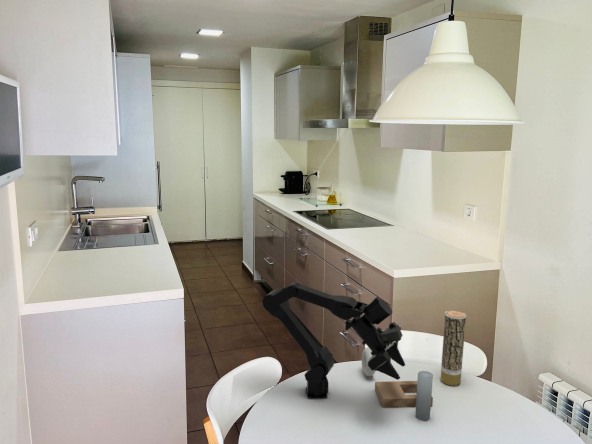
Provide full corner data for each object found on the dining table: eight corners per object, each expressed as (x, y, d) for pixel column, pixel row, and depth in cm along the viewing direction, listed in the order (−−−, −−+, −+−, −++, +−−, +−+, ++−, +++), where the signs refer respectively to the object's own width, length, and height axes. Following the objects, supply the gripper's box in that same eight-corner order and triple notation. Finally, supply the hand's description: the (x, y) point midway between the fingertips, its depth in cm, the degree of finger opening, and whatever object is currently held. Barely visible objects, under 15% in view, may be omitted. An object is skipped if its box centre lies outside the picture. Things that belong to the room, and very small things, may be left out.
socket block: (382, 407, 156) (383, 399, 155) (374, 389, 167) (375, 381, 166) (432, 406, 157) (432, 397, 156) (421, 388, 168) (421, 380, 167)
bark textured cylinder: (461, 387, 169) (467, 318, 165) (441, 385, 170) (446, 316, 166) (459, 378, 176) (464, 311, 171) (439, 376, 177) (444, 309, 173)
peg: (417, 421, 149) (420, 378, 146) (413, 413, 153) (416, 371, 151) (432, 420, 149) (435, 377, 147) (427, 412, 154) (430, 370, 151)
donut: (376, 381, 172) (377, 354, 170) (366, 382, 172) (367, 355, 170) (369, 368, 182) (370, 342, 180) (360, 368, 182) (361, 343, 180)
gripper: (380, 328, 142) (417, 371, 140) (392, 308, 159) (425, 346, 157) (353, 349, 146) (388, 391, 144) (367, 327, 163) (399, 364, 161)
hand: (401, 372), depth 151 cm, fingers open, 9 cm apart
